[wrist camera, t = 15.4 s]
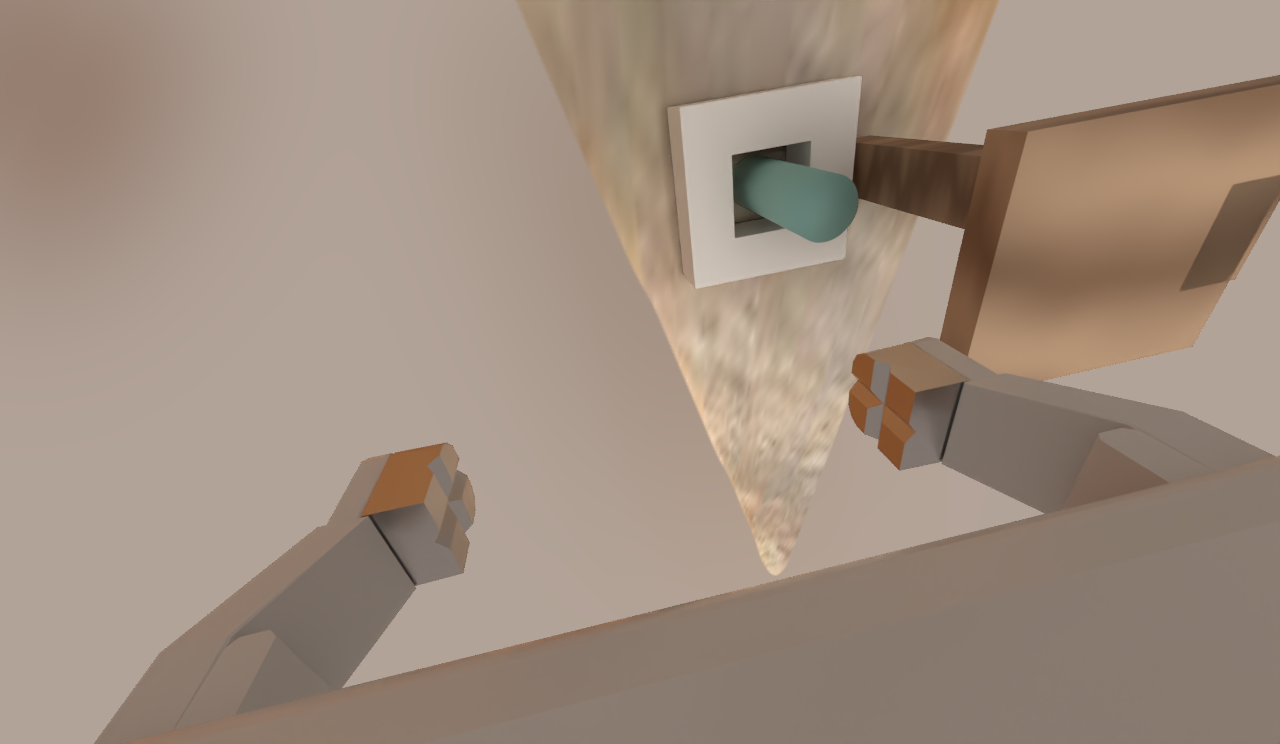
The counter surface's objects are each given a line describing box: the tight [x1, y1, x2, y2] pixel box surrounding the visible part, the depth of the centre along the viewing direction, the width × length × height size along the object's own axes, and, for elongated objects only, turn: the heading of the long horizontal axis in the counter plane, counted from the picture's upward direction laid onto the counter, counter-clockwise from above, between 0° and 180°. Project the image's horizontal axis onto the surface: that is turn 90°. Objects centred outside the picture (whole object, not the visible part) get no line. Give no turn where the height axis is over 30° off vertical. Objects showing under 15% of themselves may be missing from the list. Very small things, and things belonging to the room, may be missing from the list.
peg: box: [732, 155, 858, 243], centre depth 32 cm, size 4×4×12 cm
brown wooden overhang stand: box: [852, 75, 1280, 381], centre depth 27 cm, size 10×11×25 cm
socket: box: [667, 76, 862, 289], centre depth 36 cm, size 13×13×4 cm
